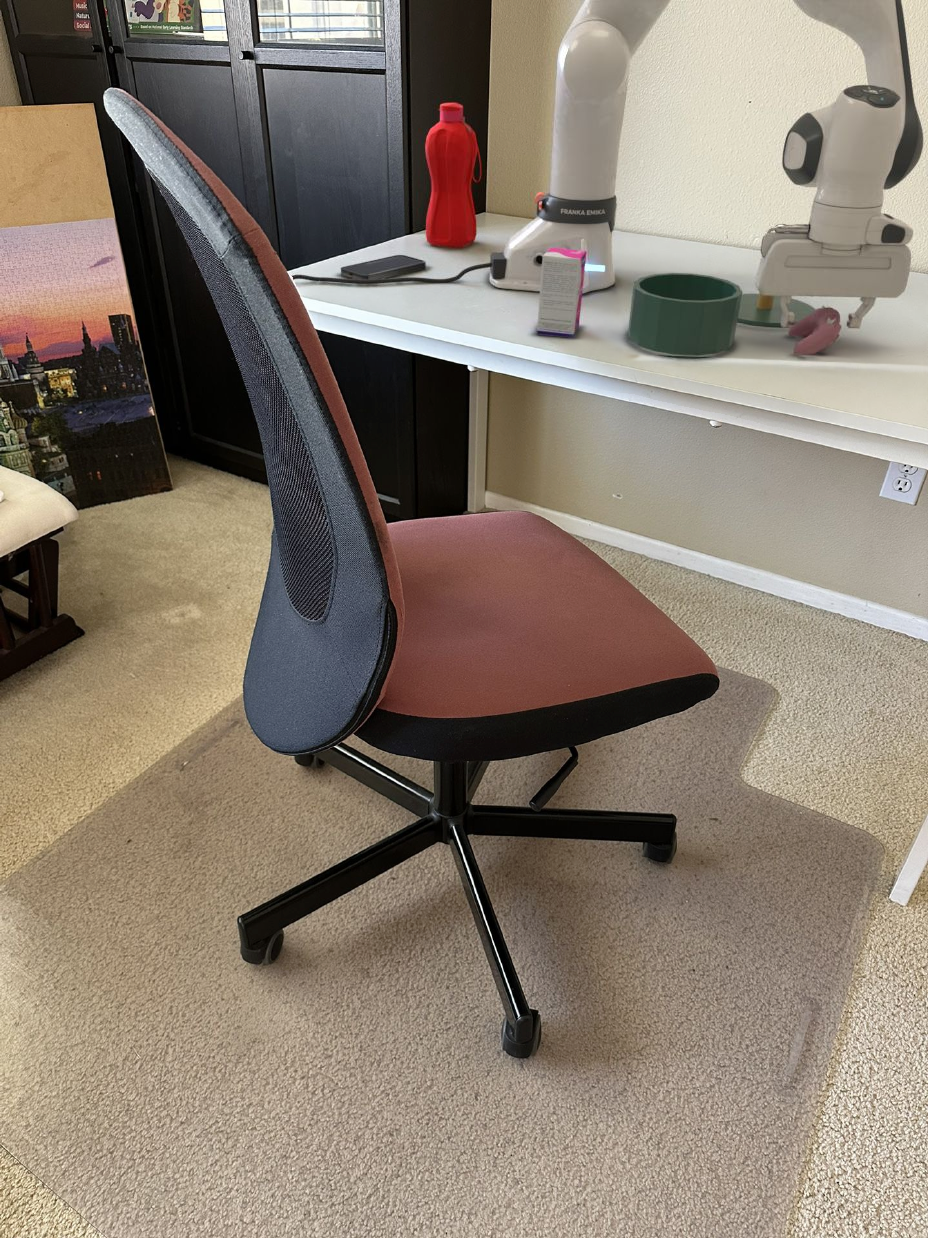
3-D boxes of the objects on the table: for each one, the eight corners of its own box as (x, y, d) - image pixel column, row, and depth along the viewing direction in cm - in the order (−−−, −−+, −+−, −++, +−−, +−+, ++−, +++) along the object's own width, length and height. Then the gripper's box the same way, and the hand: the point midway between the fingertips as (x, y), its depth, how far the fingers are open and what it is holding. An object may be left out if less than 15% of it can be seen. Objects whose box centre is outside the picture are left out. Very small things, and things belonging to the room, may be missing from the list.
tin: (631, 356, 129) (638, 299, 124) (625, 324, 141) (630, 271, 136) (739, 360, 128) (750, 303, 123) (723, 327, 140) (732, 274, 135)
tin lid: (719, 328, 140) (725, 294, 137) (705, 299, 153) (710, 267, 150) (826, 332, 138) (834, 298, 135) (802, 302, 152) (809, 270, 149)
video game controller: (817, 370, 129) (851, 328, 125) (791, 353, 129) (824, 311, 124) (809, 348, 137) (841, 307, 133) (785, 332, 136) (816, 291, 132)
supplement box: (574, 338, 135) (580, 258, 128) (535, 334, 136) (540, 255, 130) (580, 326, 140) (587, 249, 133) (543, 323, 141) (547, 246, 134)
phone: (428, 261, 167) (365, 275, 158) (428, 267, 167) (365, 282, 159) (400, 253, 171) (337, 267, 162) (400, 260, 172) (338, 273, 163)
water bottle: (469, 252, 178) (471, 107, 163) (420, 245, 182) (418, 103, 167) (488, 242, 185) (492, 102, 170) (441, 236, 189) (440, 99, 174)
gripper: (769, 228, 121) (750, 331, 129) (926, 231, 120) (897, 334, 128) (760, 218, 126) (743, 318, 134) (910, 220, 125) (883, 321, 133)
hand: (819, 326), depth 131 cm, fingers open, 8 cm apart
